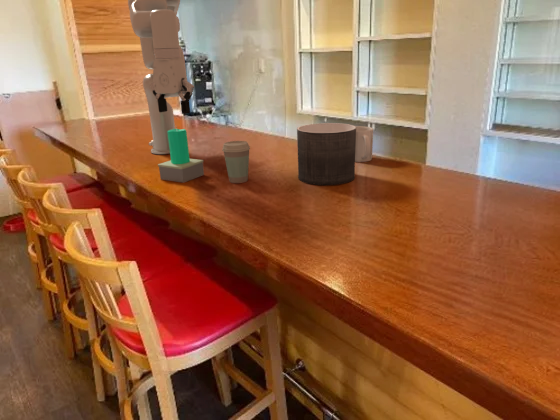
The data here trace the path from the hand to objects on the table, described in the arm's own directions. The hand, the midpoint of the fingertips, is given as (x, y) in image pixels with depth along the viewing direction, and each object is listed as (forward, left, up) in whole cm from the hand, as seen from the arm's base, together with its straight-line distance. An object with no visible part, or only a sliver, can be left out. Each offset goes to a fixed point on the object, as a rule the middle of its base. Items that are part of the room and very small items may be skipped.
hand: (174, 112), depth 133 cm
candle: (0, 0, -16) cm, 16 cm away
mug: (+45, +44, -21) cm, 66 cm away
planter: (+44, +18, -21) cm, 52 cm away
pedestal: (0, 0, -21) cm, 21 cm away
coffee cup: (+20, +4, -21) cm, 30 cm away
